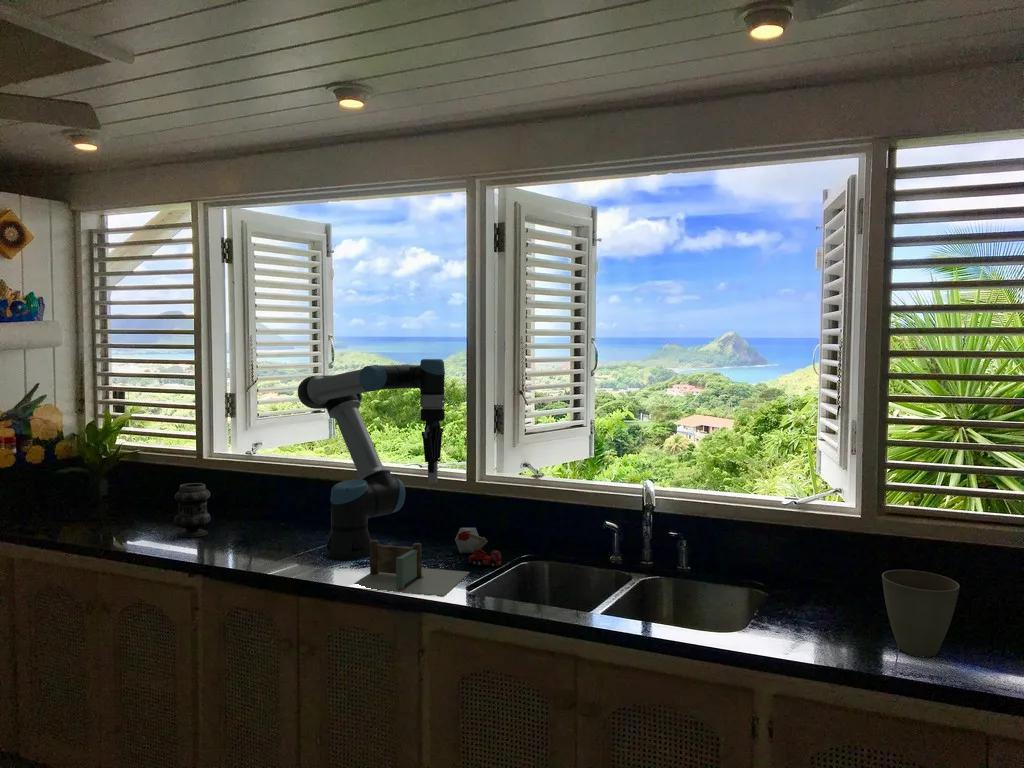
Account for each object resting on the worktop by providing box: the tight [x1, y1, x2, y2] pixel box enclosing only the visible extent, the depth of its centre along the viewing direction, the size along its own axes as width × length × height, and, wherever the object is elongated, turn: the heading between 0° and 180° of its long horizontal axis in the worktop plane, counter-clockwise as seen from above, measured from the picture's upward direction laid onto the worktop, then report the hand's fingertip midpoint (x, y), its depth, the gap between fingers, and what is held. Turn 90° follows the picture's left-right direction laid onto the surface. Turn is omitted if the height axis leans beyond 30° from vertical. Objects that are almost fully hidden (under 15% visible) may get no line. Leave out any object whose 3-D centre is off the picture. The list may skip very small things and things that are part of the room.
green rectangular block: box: [396, 549, 417, 589], centre depth 206 cm, size 10×2×8 cm, turn 162°
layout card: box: [353, 567, 471, 597], centre depth 210 cm, size 28×22×1 cm
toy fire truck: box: [457, 531, 502, 568], centre depth 227 cm, size 3×14×10 cm, turn 71°
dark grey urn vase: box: [173, 482, 211, 539], centre depth 262 cm, size 12×12×18 cm
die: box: [454, 527, 480, 554], centre depth 241 cm, size 8×9×10 cm
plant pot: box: [881, 569, 961, 658], centre depth 161 cm, size 15×15×16 cm
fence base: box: [369, 539, 423, 578], centre depth 214 cm, size 16×2×10 cm, turn 75°
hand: (432, 482), depth 231 cm, fingers closed
